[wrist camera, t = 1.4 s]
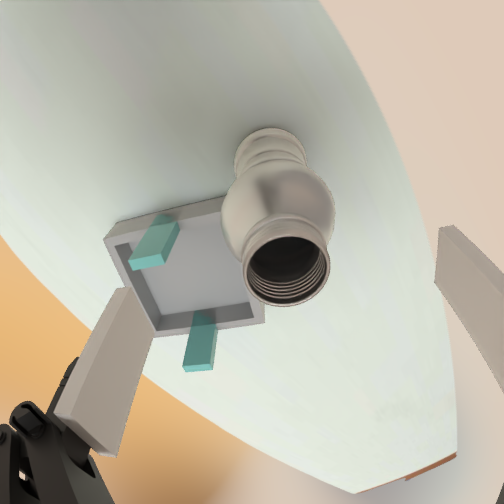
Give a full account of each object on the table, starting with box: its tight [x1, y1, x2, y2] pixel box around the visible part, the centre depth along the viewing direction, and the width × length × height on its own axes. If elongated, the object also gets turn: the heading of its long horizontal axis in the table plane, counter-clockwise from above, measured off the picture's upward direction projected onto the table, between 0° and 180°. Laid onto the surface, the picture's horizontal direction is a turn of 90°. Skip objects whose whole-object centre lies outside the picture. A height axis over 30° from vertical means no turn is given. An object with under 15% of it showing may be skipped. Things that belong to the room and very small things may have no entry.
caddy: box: [103, 196, 265, 372], centre depth 32 cm, size 14×14×10 cm
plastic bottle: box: [220, 128, 335, 307], centre depth 22 cm, size 6×7×20 cm
